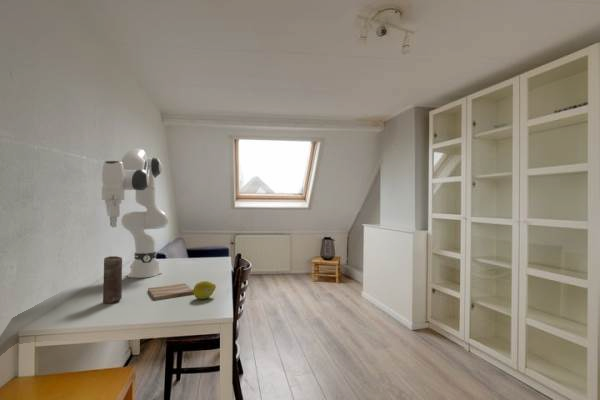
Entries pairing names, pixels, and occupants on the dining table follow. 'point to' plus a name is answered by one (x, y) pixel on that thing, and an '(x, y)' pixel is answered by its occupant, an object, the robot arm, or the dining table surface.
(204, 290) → the lemon
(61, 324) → the dining table surface
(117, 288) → the wooden log
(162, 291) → the walnut board
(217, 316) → the dining table surface
